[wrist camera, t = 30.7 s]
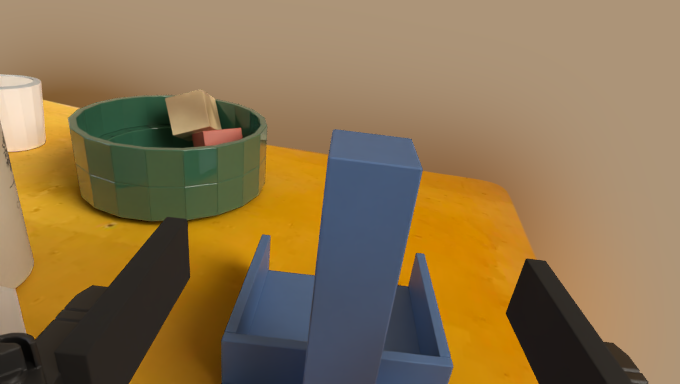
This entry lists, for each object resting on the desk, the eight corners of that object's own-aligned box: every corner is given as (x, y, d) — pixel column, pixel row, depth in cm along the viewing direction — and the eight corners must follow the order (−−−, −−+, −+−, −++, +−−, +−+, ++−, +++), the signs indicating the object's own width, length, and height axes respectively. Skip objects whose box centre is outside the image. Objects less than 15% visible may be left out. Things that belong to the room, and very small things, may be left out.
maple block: (201, 88, 43) (215, 98, 47) (164, 98, 43) (180, 107, 47) (210, 126, 43) (222, 133, 47) (172, 135, 43) (188, 141, 47)
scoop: (449, 473, 20) (559, 184, 13) (202, 446, 19) (190, 139, 13) (414, 293, 31) (463, 94, 25) (260, 275, 31) (269, 69, 25)
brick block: (246, 166, 44) (241, 127, 43) (208, 171, 41) (202, 131, 41) (233, 166, 47) (227, 130, 46) (197, 171, 45) (191, 134, 44)
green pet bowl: (35, 192, 38) (19, 118, 35) (171, 143, 53) (167, 87, 50) (190, 249, 33) (186, 167, 30) (292, 176, 48) (296, 117, 45)
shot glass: (-25, 157, 43) (-44, 89, 40) (-23, 136, 48) (-40, 73, 45) (55, 149, 47) (43, 87, 44) (49, 130, 52) (38, 73, 49)
